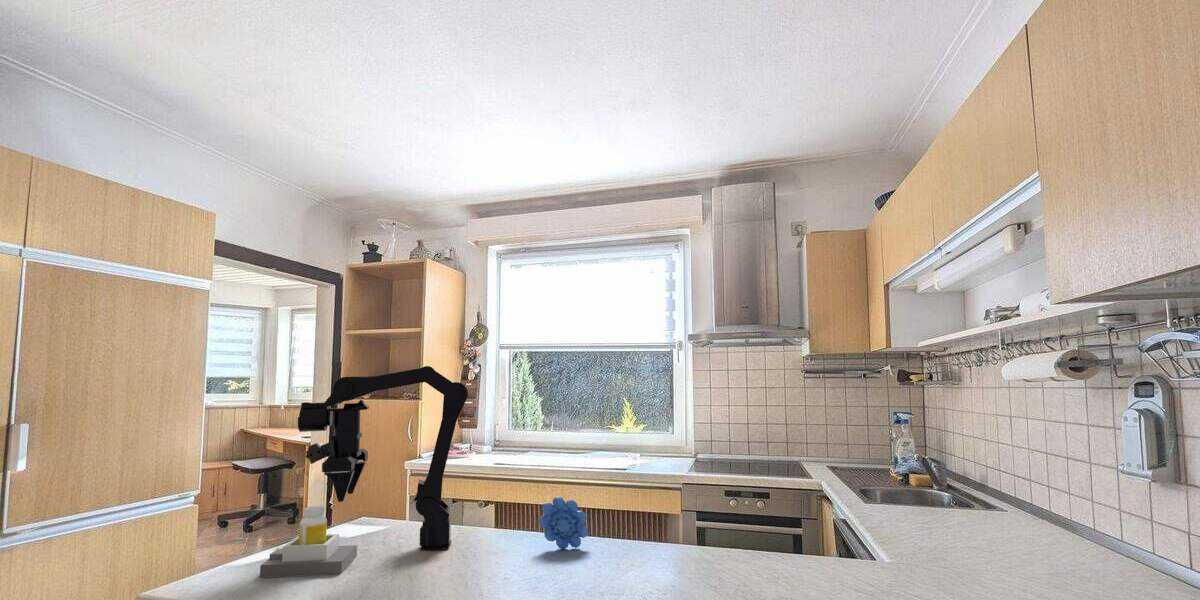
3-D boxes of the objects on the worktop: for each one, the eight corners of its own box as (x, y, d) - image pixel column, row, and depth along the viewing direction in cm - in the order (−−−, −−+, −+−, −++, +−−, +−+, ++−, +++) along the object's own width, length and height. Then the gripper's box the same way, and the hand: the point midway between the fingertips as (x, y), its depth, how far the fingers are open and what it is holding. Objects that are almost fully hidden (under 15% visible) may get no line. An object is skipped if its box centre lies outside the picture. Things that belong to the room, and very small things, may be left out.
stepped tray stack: (356, 556, 137) (357, 531, 138) (341, 573, 125) (342, 546, 126) (282, 560, 135) (283, 534, 136) (259, 577, 123) (261, 550, 124)
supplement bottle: (331, 551, 132) (333, 505, 134) (312, 559, 127) (314, 511, 129) (312, 549, 134) (314, 504, 135) (292, 556, 129) (294, 509, 130)
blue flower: (537, 555, 137) (537, 500, 138) (539, 546, 144) (539, 494, 145) (588, 554, 137) (588, 499, 139) (588, 545, 144) (587, 493, 146)
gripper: (322, 427, 151) (320, 492, 149) (298, 435, 132) (295, 508, 131) (368, 425, 153) (367, 489, 151) (351, 433, 134) (350, 505, 132)
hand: (345, 497), depth 141 cm, fingers open, 9 cm apart
